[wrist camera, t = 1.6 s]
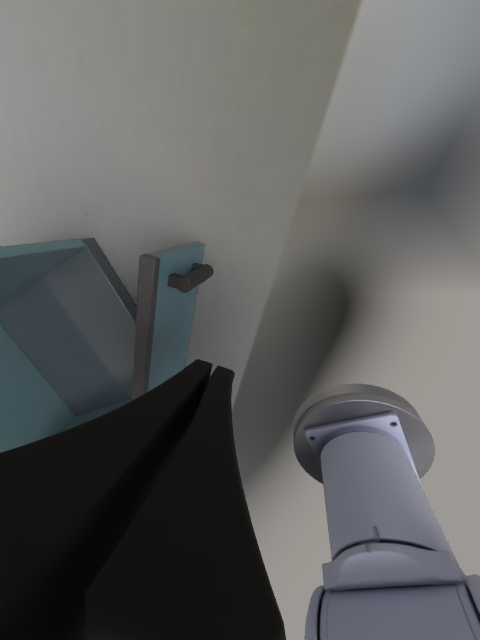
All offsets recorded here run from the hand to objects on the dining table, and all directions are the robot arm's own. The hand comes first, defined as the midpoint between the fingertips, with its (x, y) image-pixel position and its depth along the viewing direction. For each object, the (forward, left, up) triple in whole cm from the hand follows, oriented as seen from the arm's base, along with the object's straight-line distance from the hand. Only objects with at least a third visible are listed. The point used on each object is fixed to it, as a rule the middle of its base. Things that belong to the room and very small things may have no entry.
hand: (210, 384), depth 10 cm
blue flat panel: (+1, +4, -8) cm, 9 cm away
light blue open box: (+3, +16, -9) cm, 19 cm away
